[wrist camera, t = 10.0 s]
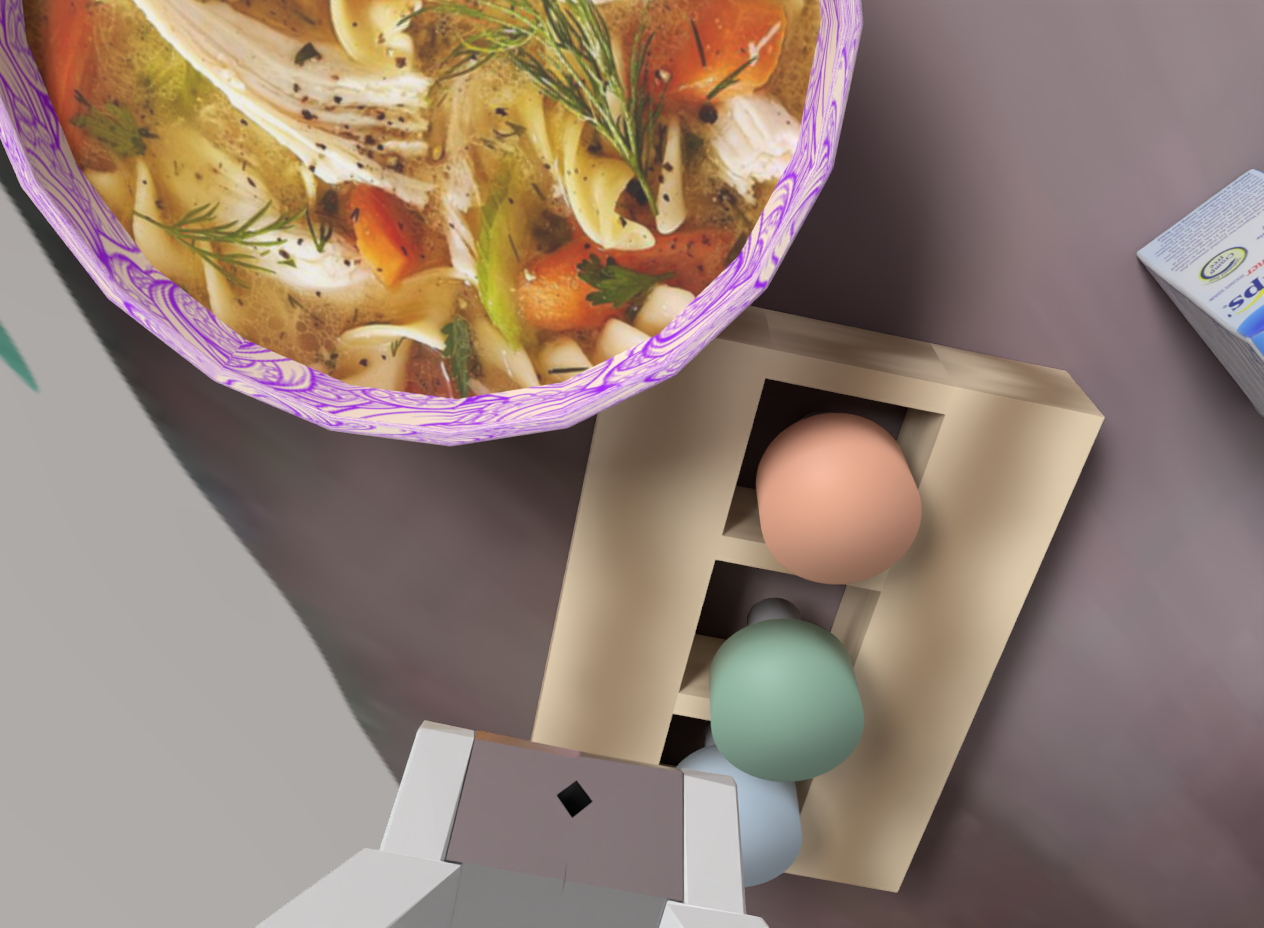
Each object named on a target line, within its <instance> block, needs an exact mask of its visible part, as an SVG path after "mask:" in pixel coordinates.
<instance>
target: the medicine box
mask: <svg viewBox="0 0 1264 928" xmlns="http://www.w3.org/2000/svg"><path fill="white" fill-rule="evenodd" d="M1137 256H1138V258H1139V259H1140V261H1141V262H1142V263H1143V264H1144V266H1145V267H1146V268H1147V270H1148V271H1149V272H1150V273H1151V275H1152V276H1153V277H1154V278H1155V280H1156V281H1157V282H1158V284H1159V285H1160V286H1161V287H1162V289H1163V290H1164V291H1165V292H1166V294H1167V295H1168V296H1169V297H1170V299H1171V300H1172V301H1173V303H1174V304H1175V305H1176V306H1177V308H1178V309H1179V310H1180V311H1181V313H1182V314H1183V315H1184V316H1185V318H1186V319H1187V320H1188V322H1189V323H1190V324H1191V325H1192V327H1193V328H1194V329H1195V331H1196V332H1197V333H1198V334H1199V336H1200V337H1201V338H1202V339H1203V341H1204V342H1205V343H1206V344H1207V346H1208V347H1209V348H1210V350H1211V351H1212V352H1213V353H1214V355H1215V356H1216V357H1217V358H1218V360H1219V361H1220V362H1221V363H1222V365H1223V366H1224V367H1225V368H1226V370H1227V371H1228V372H1229V374H1230V375H1231V376H1232V377H1233V379H1234V380H1235V381H1236V383H1237V384H1238V385H1239V386H1240V388H1241V389H1242V390H1243V392H1244V393H1245V394H1246V396H1247V397H1248V398H1249V400H1250V401H1251V402H1252V404H1253V405H1254V408H1255V409H1256V411H1257V412H1258V413H1259V414H1260V415H1261V416H1263V417H1264V173H1263V172H1261V171H1258V170H1256V169H1251V170H1249V171H1248V172H1246V173H1245V174H1243V175H1241V176H1240V177H1239V178H1237V179H1236V180H1235V181H1233V182H1232V183H1231V184H1229V185H1228V186H1227V187H1225V188H1224V189H1222V190H1221V191H1219V192H1218V193H1216V194H1215V195H1214V196H1212V197H1211V198H1209V199H1208V200H1207V201H1205V202H1204V203H1203V204H1201V205H1200V206H1199V207H1197V208H1196V209H1195V210H1193V211H1192V212H1191V213H1190V214H1188V215H1187V216H1186V217H1184V218H1183V219H1182V220H1180V221H1179V222H1177V223H1176V224H1174V225H1173V226H1172V227H1170V228H1169V229H1168V230H1166V231H1165V232H1163V233H1162V234H1161V235H1159V236H1158V237H1157V238H1155V239H1154V240H1153V241H1151V242H1150V243H1149V244H1147V245H1146V246H1145V247H1143V248H1142V249H1140V250H1139V251H1138V252H1137Z"/></svg>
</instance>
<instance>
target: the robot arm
mask: <svg viewBox="0 0 1264 928" xmlns="http://www.w3.org/2000/svg"><path fill="white" fill-rule="evenodd" d="M254 928H769V926H768V925H767V924H766V922H765V921H764V920H763V918H761V917H756V916H750V915H746V904H745V890H744V876H743V862H742V848H741V834H740V820H739V805H738V791H737V784H736V782H735V780H734V778H733V777H732V776H727V775H721V774H715V773H709V772H703V771H697V770H690V769H684V768H682V769H681V770H679V769H678V768H673V767H667V766H662V765H656V764H650V763H645V762H639V761H633V760H627V759H622V758H616V757H610V756H604V755H599V754H593V753H587V752H581V751H576V750H571V749H566V748H561V747H556V746H551V745H547V744H542V743H537V742H532V741H527V740H522V739H517V738H513V737H508V736H503V735H498V734H493V733H488V732H484V731H479V730H478V731H477V734H476V732H475V731H473V730H469V729H464V728H459V727H454V726H449V725H444V724H440V723H435V722H430V721H425V720H424V722H423V723H422V725H421V726H420V728H419V730H418V731H417V734H416V738H415V741H414V744H413V747H412V750H411V753H410V756H409V759H408V763H407V766H406V769H405V772H404V775H403V778H402V781H401V784H400V788H399V791H398V794H397V797H396V800H395V803H394V806H393V810H392V813H391V816H390V819H389V822H388V825H387V828H386V831H385V835H384V838H383V841H382V844H381V847H380V850H373V849H367V848H362V849H361V850H360V851H358V852H357V853H356V854H354V855H353V856H351V857H350V858H349V859H347V860H346V861H345V862H343V863H342V864H340V865H339V866H338V867H336V868H335V869H334V870H332V871H331V872H329V873H328V874H327V875H325V876H324V877H323V878H321V879H320V880H318V881H317V882H316V883H314V884H313V885H312V886H310V887H309V888H307V889H306V890H305V891H303V892H302V893H301V894H299V895H298V896H297V897H295V898H294V899H292V900H291V901H290V902H288V903H287V904H286V905H284V906H283V907H281V908H280V909H279V910H277V911H276V912H275V913H273V914H272V915H270V916H269V917H268V918H266V919H265V920H264V921H262V922H261V923H259V924H258V925H257V926H255V927H254Z"/></svg>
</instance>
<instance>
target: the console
mask: <svg viewBox="0 0 1264 928" xmlns="http://www.w3.org/2000/svg"><path fill="white" fill-rule="evenodd" d="M765 378H767V379H772V380H777V381H782V382H786V383H791V384H796V385H801V386H806V387H811V388H816V389H821V390H826V391H831V392H836V393H841V394H846V395H851V396H856V397H861V398H866V399H870V400H875V401H880V402H885V403H890V404H895V405H900V406H905V407H908V409H907V412H906V415H905V418H904V420H903V423H902V426H901V429H900V432H899V435H898V438H897V441H896V442H897V443H898V445H899V446H900V448H901V450H902V452H903V454H904V457H905V459H906V462H907V464H908V467H909V469H910V472H911V474H912V476H913V479H914V481H915V484H916V486H917V489H918V492H919V495H920V500H921V511H922V514H921V522H920V526H919V529H918V533H917V535H916V537H915V539H914V541H913V543H912V544H911V546H910V548H909V549H908V550H907V552H906V553H905V554H904V555H903V556H902V557H901V558H900V559H899V560H898V561H897V562H896V563H895V564H894V565H892V566H891V567H890V568H888V569H887V570H885V571H883V572H882V573H880V574H878V575H876V576H874V577H871V578H869V579H866V580H863V581H859V582H854V583H849V584H844V585H847V586H846V589H845V592H844V595H843V597H842V600H841V603H840V606H839V609H838V612H837V615H836V618H835V621H834V624H833V626H832V629H831V632H830V633H832V634H833V635H834V636H835V637H837V638H838V639H839V640H840V641H841V643H842V644H843V645H844V646H845V648H846V649H847V651H848V653H849V655H850V657H851V660H852V664H853V668H854V672H855V677H856V681H857V686H858V690H859V694H860V699H861V703H862V708H863V712H864V728H863V732H862V736H861V738H860V741H859V743H858V745H857V746H856V748H855V749H854V751H853V752H852V753H851V754H850V756H849V757H848V758H847V759H846V760H845V761H843V762H842V763H841V764H840V765H838V766H837V767H835V768H834V769H832V770H830V771H828V772H827V773H825V774H822V775H820V776H817V777H814V778H810V779H807V780H801V781H795V784H796V791H797V799H798V806H799V814H800V821H801V829H802V845H801V849H800V852H799V854H798V856H797V858H796V859H795V861H794V862H793V864H792V865H791V866H790V867H789V868H788V869H787V870H786V871H785V872H784V873H790V874H795V875H801V876H806V877H812V878H818V879H823V880H829V881H835V882H840V883H846V884H852V885H857V886H863V887H868V888H874V889H880V890H885V891H891V892H898V890H899V888H900V886H901V883H902V881H903V879H904V876H905V874H906V872H907V870H908V867H909V865H910V863H911V860H912V858H913V856H914V853H915V851H916V849H917V847H918V844H919V842H920V840H921V837H922V835H923V833H924V831H925V828H926V826H927V824H928V821H929V819H930V817H931V814H932V812H933V810H934V808H935V805H936V803H937V801H938V798H939V796H940V794H941V792H942V789H943V787H944V785H945V782H946V780H947V778H948V775H949V773H950V771H951V769H952V766H953V764H954V762H955V759H956V757H957V755H958V753H959V750H960V748H961V746H962V743H963V741H964V739H965V737H966V734H967V732H968V730H969V727H970V725H971V723H972V720H973V718H974V716H975V714H976V711H977V709H978V707H979V704H980V702H981V700H982V698H983V695H984V693H985V691H986V688H987V686H988V684H989V681H990V679H991V677H992V675H993V672H994V670H995V668H996V665H997V663H998V661H999V659H1000V656H1001V654H1002V652H1003V649H1004V647H1005V645H1006V642H1007V640H1008V638H1009V636H1010V633H1011V631H1012V629H1013V626H1014V624H1015V622H1016V620H1017V617H1018V615H1019V613H1020V610H1021V608H1022V606H1023V603H1024V601H1025V599H1026V597H1027V594H1028V592H1029V590H1030V587H1031V585H1032V583H1033V581H1034V578H1035V576H1036V574H1037V571H1038V569H1039V567H1040V564H1041V562H1042V560H1043V558H1044V555H1045V553H1046V551H1047V548H1048V546H1049V544H1050V542H1051V539H1052V537H1053V535H1054V532H1055V530H1056V528H1057V525H1058V523H1059V521H1060V519H1061V516H1062V514H1063V512H1064V509H1065V507H1066V505H1067V503H1068V500H1069V498H1070V496H1071V493H1072V491H1073V489H1074V486H1075V484H1076V482H1077V480H1078V477H1079V475H1080V473H1081V470H1082V468H1083V466H1084V464H1085V461H1086V459H1087V457H1088V454H1089V452H1090V450H1091V447H1092V445H1093V443H1094V441H1095V438H1096V436H1097V434H1098V431H1099V429H1100V427H1101V425H1102V422H1103V420H1104V418H1105V417H1104V416H1103V415H1102V413H1101V412H1100V411H1099V410H1098V409H1097V407H1096V406H1095V405H1094V404H1093V403H1092V401H1091V400H1090V399H1089V398H1088V397H1087V395H1086V394H1085V393H1084V392H1083V391H1082V389H1081V388H1080V387H1079V386H1078V385H1077V383H1076V382H1075V381H1074V380H1073V379H1072V377H1071V376H1070V375H1069V374H1068V373H1067V371H1064V370H1059V369H1054V368H1050V367H1045V366H1040V365H1035V364H1030V363H1025V362H1020V361H1016V360H1011V359H1006V358H1001V357H996V356H991V355H986V354H982V353H977V352H972V351H967V350H962V349H957V348H952V347H948V346H943V345H938V344H933V343H928V342H923V341H918V340H914V339H909V338H904V337H899V336H894V335H889V334H884V333H880V332H875V331H870V330H865V329H860V328H855V327H850V326H846V325H841V324H836V323H831V322H826V321H821V320H816V319H812V318H807V317H802V316H797V315H792V314H787V313H782V312H778V311H773V310H768V309H763V308H758V307H753V306H748V307H747V308H746V309H745V310H744V311H743V312H742V313H741V314H740V315H739V316H738V317H737V318H736V319H735V320H734V321H733V322H732V323H731V324H729V325H728V326H727V327H726V328H725V329H724V330H723V331H722V332H721V333H720V334H719V335H718V336H717V337H716V338H715V339H714V340H713V341H712V342H711V343H709V344H708V345H707V346H706V347H705V348H704V349H703V350H702V351H701V352H700V353H699V354H698V355H697V356H696V357H695V358H694V359H693V360H692V361H691V362H689V363H688V364H687V365H686V366H685V367H684V368H683V369H682V370H681V371H680V372H679V373H678V374H677V375H676V376H674V377H672V378H670V379H668V380H666V381H664V382H662V383H659V384H657V385H655V386H653V387H651V388H649V389H647V390H645V391H643V392H641V393H639V394H637V395H635V396H633V397H631V398H629V399H627V400H625V401H623V402H621V403H618V404H616V405H614V406H612V407H610V408H608V409H606V410H604V411H602V412H600V413H598V414H597V418H596V423H595V428H594V433H593V438H592V443H591V447H590V452H589V457H588V462H587V467H586V472H585V477H584V482H583V487H582V492H581V496H580V501H579V506H578V511H577V516H576V521H575V526H574V531H573V536H572V541H571V545H570V550H569V555H568V560H567V565H566V570H565V575H564V580H563V585H562V590H561V594H560V599H559V604H558V609H557V614H556V619H555V624H554V629H553V634H552V639H551V643H550V648H549V653H548V658H547V663H546V668H545V673H544V678H543V683H542V688H541V692H540V697H539V702H538V707H537V712H536V717H535V722H534V727H533V732H532V737H531V741H532V742H537V743H542V744H547V745H551V746H556V747H561V748H566V749H571V750H576V751H581V752H587V753H593V754H599V755H604V756H610V757H616V758H622V759H627V760H633V761H639V762H645V763H650V764H656V765H662V766H667V767H673V768H676V767H677V766H674V765H669V764H663V763H659V762H660V758H661V754H662V751H663V747H664V744H665V740H666V736H667V733H668V729H669V725H670V722H671V718H672V715H673V714H677V715H683V716H688V717H693V718H699V719H704V720H710V721H711V714H710V687H709V674H710V668H711V664H712V661H713V659H714V656H715V655H716V653H717V651H718V650H719V648H720V647H721V646H722V644H723V643H724V642H725V641H726V640H725V639H720V638H715V637H709V636H704V635H699V634H695V631H696V628H697V624H698V620H699V617H700V613H701V610H702V606H703V602H704V599H705V595H706V592H707V588H708V584H709V581H710V577H711V573H712V570H713V566H714V563H715V560H720V561H725V562H730V563H736V564H741V565H746V566H751V567H756V568H761V569H767V570H772V571H777V572H782V573H787V574H793V575H796V574H794V573H792V572H790V571H789V570H788V569H786V568H785V567H783V566H782V565H781V564H780V563H779V562H778V561H777V560H776V559H775V557H774V556H773V555H772V554H771V552H770V550H769V549H768V547H767V545H766V543H765V540H764V538H763V534H762V530H761V523H760V516H759V508H758V500H757V492H756V489H752V488H747V487H742V486H737V485H736V483H737V479H738V476H739V472H740V468H741V465H742V461H743V458H744V454H745V450H746V447H747V443H748V439H749V436H750V432H751V429H752V425H753V421H754V418H755V414H756V410H757V407H758V403H759V400H760V396H761V392H762V389H763V385H764V382H765Z"/></svg>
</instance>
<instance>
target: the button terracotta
mask: <svg viewBox="0 0 1264 928" xmlns="http://www.w3.org/2000/svg"><path fill="white" fill-rule="evenodd" d="M756 492H757V500H758V508H759V516H760V523H761V530H762V534H763V538H764V540H765V543H766V545H767V547H768V549H769V550H770V552H771V554H772V555H773V556H774V557H775V559H776V560H777V561H778V562H779V563H780V564H781V565H782V566H783V567H785V568H786V569H788V570H789V571H790V572H792V573H794V574H796V575H798V576H799V577H802V578H804V579H807V580H810V581H814V582H818V583H824V584H849V583H854V582H859V581H863V580H866V579H869V578H871V577H874V576H876V575H878V574H880V573H882V572H883V571H885V570H887V569H888V568H890V567H891V566H892V565H894V564H895V563H896V562H897V561H898V560H899V559H900V558H901V557H902V556H903V555H904V554H905V553H906V552H907V550H908V549H909V548H910V546H911V544H912V543H913V541H914V539H915V537H916V535H917V533H918V529H919V526H920V522H921V514H922V511H921V500H920V495H919V492H918V489H917V486H916V484H915V481H914V479H913V476H912V474H911V472H910V469H909V467H908V464H907V462H906V459H905V457H904V454H903V452H902V450H901V448H900V446H899V445H898V443H897V442H896V440H895V439H894V438H893V437H892V436H891V435H890V434H889V433H888V432H887V431H886V430H885V429H884V428H882V427H881V426H880V425H878V424H876V423H875V422H873V421H871V420H868V419H866V418H864V417H860V416H857V415H853V414H846V413H830V412H825V411H817V412H812V413H809V414H807V415H805V416H804V417H802V418H801V419H800V420H799V421H798V422H797V423H794V424H793V425H791V426H790V427H788V428H786V429H785V430H784V431H783V432H781V433H780V434H779V435H778V436H777V437H776V438H775V439H774V440H773V441H772V442H771V443H770V445H769V446H768V448H767V449H766V450H765V452H764V454H763V456H762V458H761V460H760V463H759V466H758V470H757V475H756Z"/></svg>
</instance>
